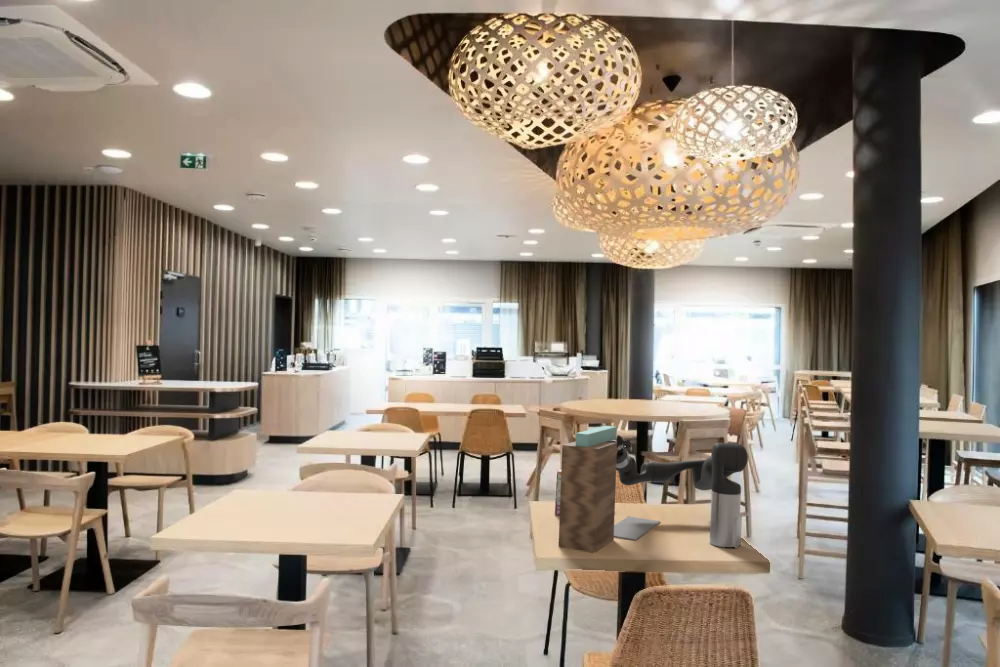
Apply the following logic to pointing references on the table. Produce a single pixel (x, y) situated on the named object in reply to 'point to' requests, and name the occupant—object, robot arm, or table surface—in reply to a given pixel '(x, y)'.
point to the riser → (587, 496)
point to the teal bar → (596, 436)
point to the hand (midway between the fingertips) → (605, 436)
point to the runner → (633, 528)
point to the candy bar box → (558, 493)
